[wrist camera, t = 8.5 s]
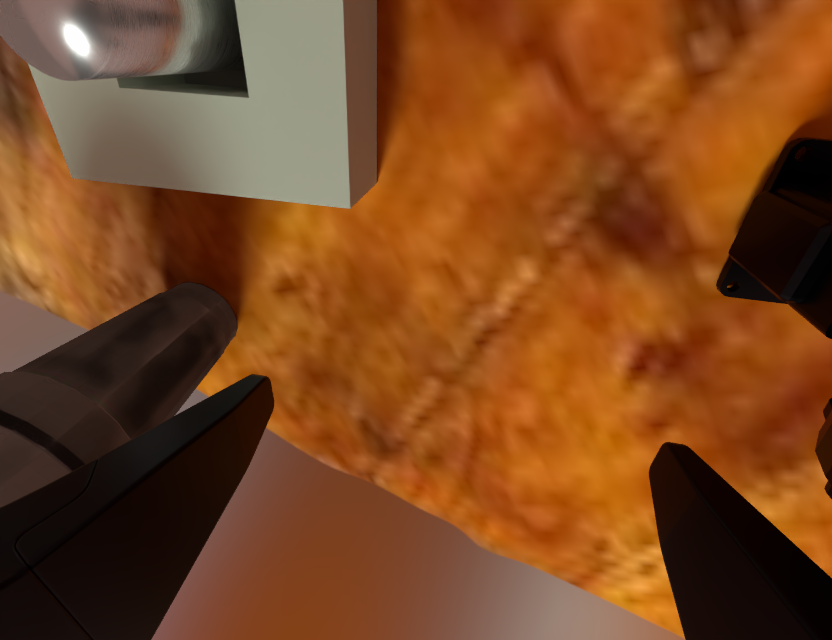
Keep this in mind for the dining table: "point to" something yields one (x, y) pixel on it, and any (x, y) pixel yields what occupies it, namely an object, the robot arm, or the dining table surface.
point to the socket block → (240, 112)
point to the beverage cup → (107, 385)
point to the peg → (123, 37)
